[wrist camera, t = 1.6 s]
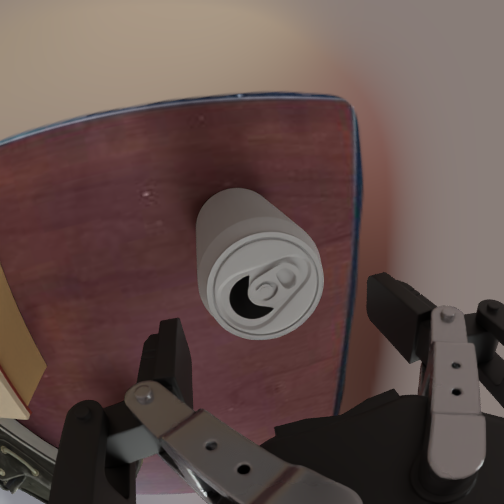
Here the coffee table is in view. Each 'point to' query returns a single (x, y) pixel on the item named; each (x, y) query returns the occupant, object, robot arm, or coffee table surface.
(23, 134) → the coffee table surface
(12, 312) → the lidded cardboard box
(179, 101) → the coffee table surface
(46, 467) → the boat shoe
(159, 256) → the coffee table surface
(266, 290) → the beverage can
